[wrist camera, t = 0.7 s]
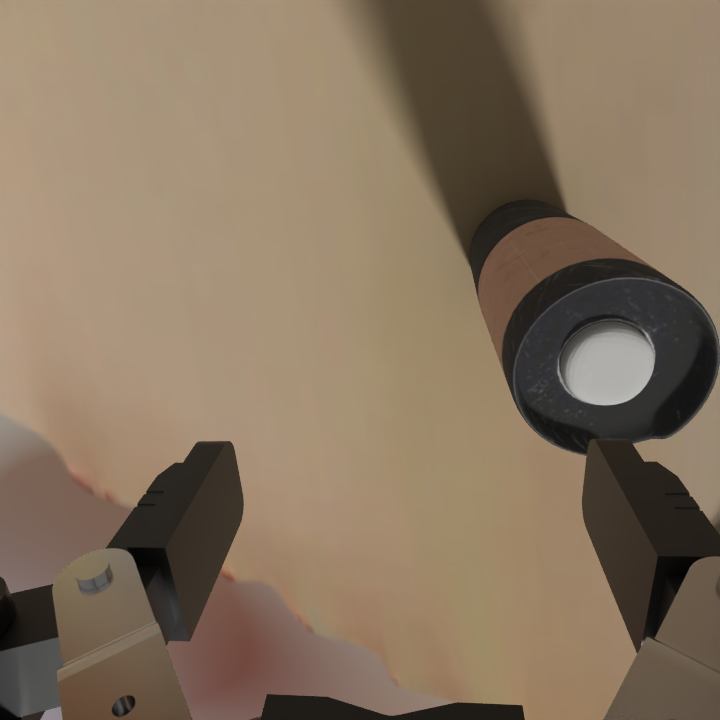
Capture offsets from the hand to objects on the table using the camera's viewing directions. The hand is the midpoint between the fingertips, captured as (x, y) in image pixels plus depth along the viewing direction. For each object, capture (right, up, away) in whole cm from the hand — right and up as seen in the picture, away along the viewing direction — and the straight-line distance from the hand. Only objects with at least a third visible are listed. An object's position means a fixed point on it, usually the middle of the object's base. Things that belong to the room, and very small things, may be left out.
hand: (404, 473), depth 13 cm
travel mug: (+10, +10, +26) cm, 30 cm away
